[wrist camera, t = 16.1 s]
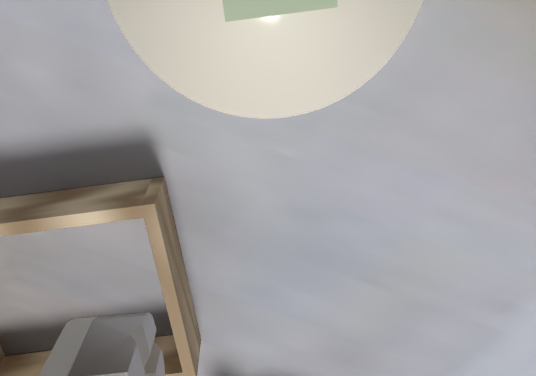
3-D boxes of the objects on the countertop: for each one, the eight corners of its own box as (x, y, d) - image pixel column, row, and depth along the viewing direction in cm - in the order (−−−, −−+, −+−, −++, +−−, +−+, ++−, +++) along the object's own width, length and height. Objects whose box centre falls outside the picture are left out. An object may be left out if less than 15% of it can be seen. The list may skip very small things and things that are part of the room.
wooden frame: (164, 176, 33) (154, 203, 29) (200, 339, 38) (196, 379, 35) (-73, 207, 33) (-113, 238, 29) (-2, 365, 38) (-28, 407, 35)
